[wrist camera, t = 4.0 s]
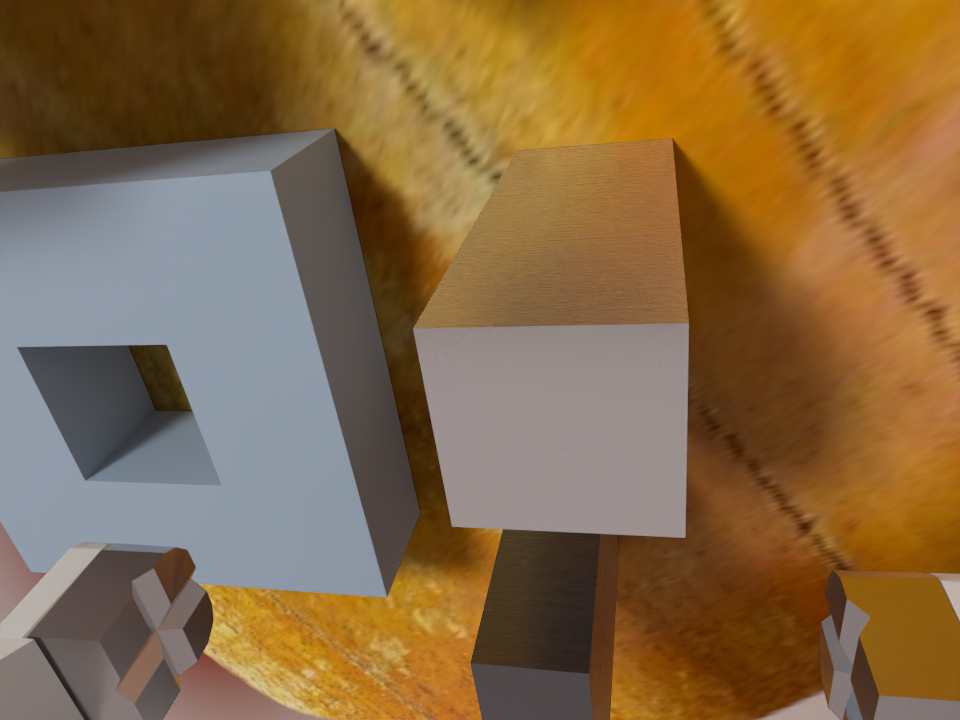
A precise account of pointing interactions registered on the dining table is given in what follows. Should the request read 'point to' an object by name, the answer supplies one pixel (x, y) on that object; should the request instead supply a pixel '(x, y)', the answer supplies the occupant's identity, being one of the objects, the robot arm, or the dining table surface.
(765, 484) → the dining table surface
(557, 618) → the dark grey rectangular slab
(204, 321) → the bore block
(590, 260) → the square bit
